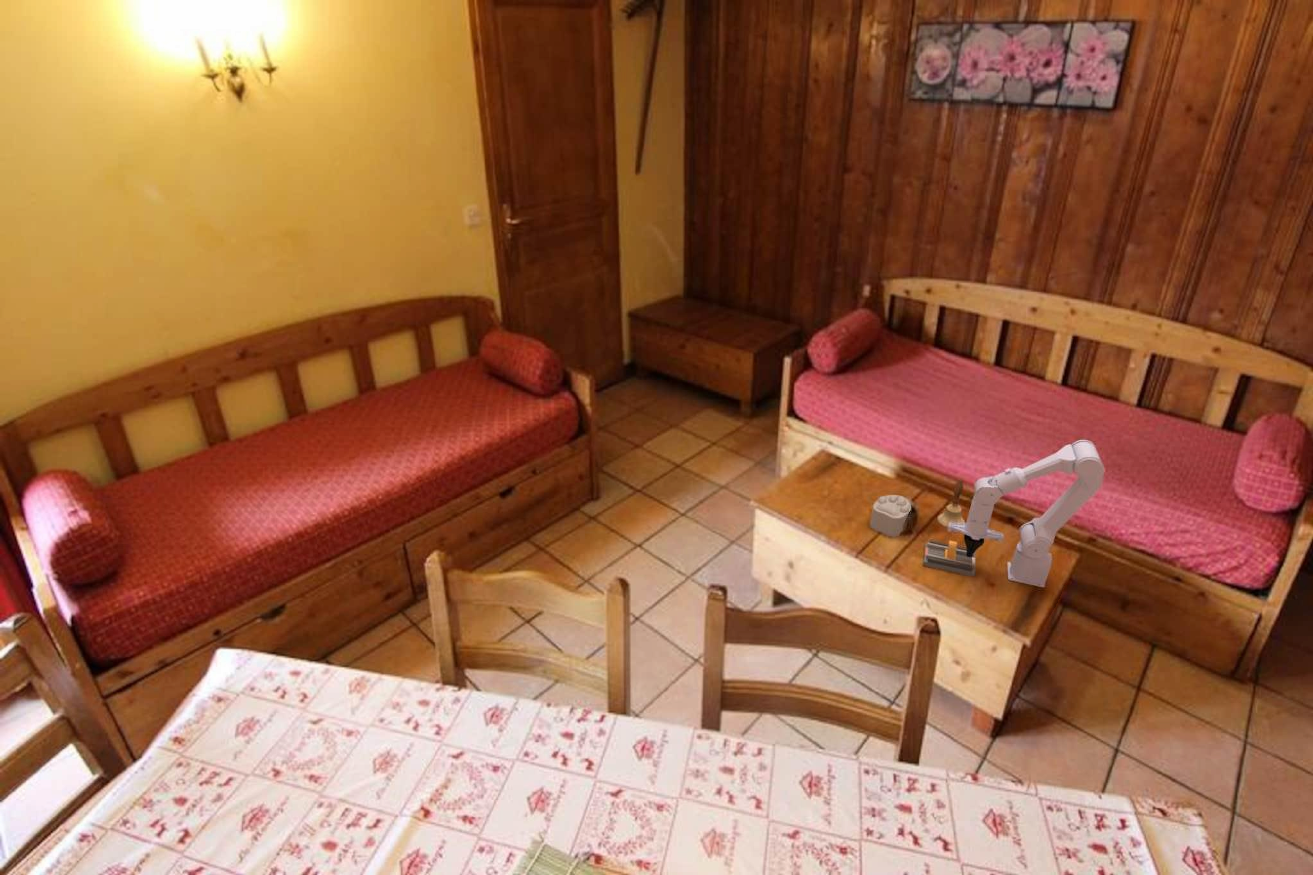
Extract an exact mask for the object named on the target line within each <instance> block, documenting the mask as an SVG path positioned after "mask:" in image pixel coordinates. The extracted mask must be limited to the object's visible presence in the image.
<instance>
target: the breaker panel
mask: <svg viewBox="0 0 1313 875" xmlns="http://www.w3.org/2000/svg"><path fill="white" fill-rule="evenodd" d="M948 545H949V543H945V542H941V541H936V540H931V539H930V540H929V542H928V541H925V545H924V554H923V562H922V563H923V565H922V566H923V567H928V568H932V569H936V570H941V571H945V572H948V573H949V572H950V573H955V574H958V575H962V576H968V577H972V578H974V577H975V575H976V551H975V552H974V554H973V555H972V557H967V556H966V552H967V548H966V546H960V545H957V548H956V560H954V559H949V558H945V549H946V550H947V549H948Z"/></svg>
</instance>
